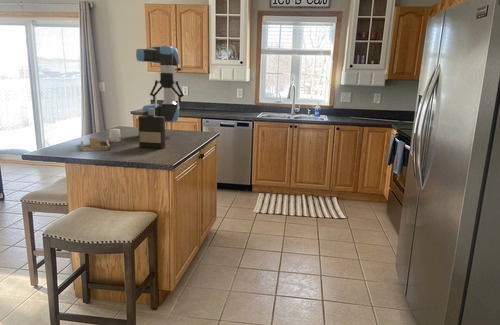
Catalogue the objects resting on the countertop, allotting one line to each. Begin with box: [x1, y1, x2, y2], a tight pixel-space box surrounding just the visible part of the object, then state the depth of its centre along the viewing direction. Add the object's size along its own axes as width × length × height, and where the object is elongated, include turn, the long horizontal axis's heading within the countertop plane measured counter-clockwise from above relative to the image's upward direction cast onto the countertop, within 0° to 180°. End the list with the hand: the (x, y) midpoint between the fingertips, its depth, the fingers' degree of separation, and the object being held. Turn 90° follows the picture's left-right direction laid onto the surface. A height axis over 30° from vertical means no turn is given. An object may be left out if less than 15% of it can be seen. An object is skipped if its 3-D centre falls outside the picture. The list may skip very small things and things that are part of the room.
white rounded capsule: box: [108, 128, 122, 143], centre depth 244 cm, size 7×7×8 cm
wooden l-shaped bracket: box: [80, 139, 111, 152], centre depth 225 cm, size 20×16×2 cm
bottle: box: [137, 108, 166, 150], centre depth 228 cm, size 8×16×25 cm, turn 88°
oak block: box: [89, 136, 101, 147], centre depth 229 cm, size 6×6×5 cm
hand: (167, 107), depth 224 cm, fingers open, 13 cm apart
